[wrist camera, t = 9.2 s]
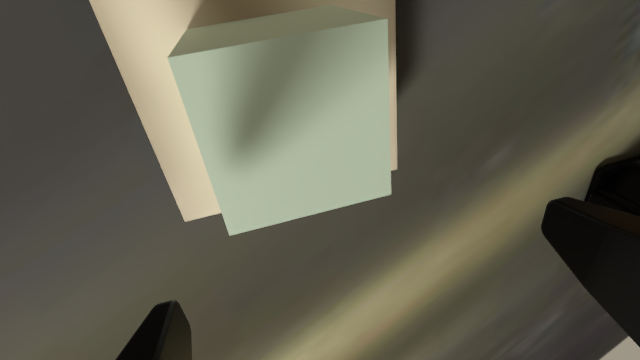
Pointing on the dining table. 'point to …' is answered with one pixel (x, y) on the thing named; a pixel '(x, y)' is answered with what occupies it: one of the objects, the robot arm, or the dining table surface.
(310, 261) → the dining table surface
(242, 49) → the sage cube
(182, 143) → the oak block
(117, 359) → the robot arm
